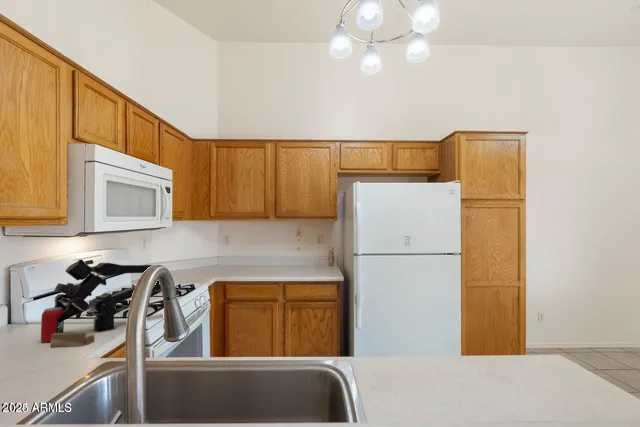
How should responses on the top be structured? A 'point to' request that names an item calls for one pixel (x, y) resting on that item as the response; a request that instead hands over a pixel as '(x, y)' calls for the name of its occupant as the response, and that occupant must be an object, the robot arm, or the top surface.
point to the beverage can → (51, 323)
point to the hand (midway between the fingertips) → (52, 320)
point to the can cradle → (70, 339)
